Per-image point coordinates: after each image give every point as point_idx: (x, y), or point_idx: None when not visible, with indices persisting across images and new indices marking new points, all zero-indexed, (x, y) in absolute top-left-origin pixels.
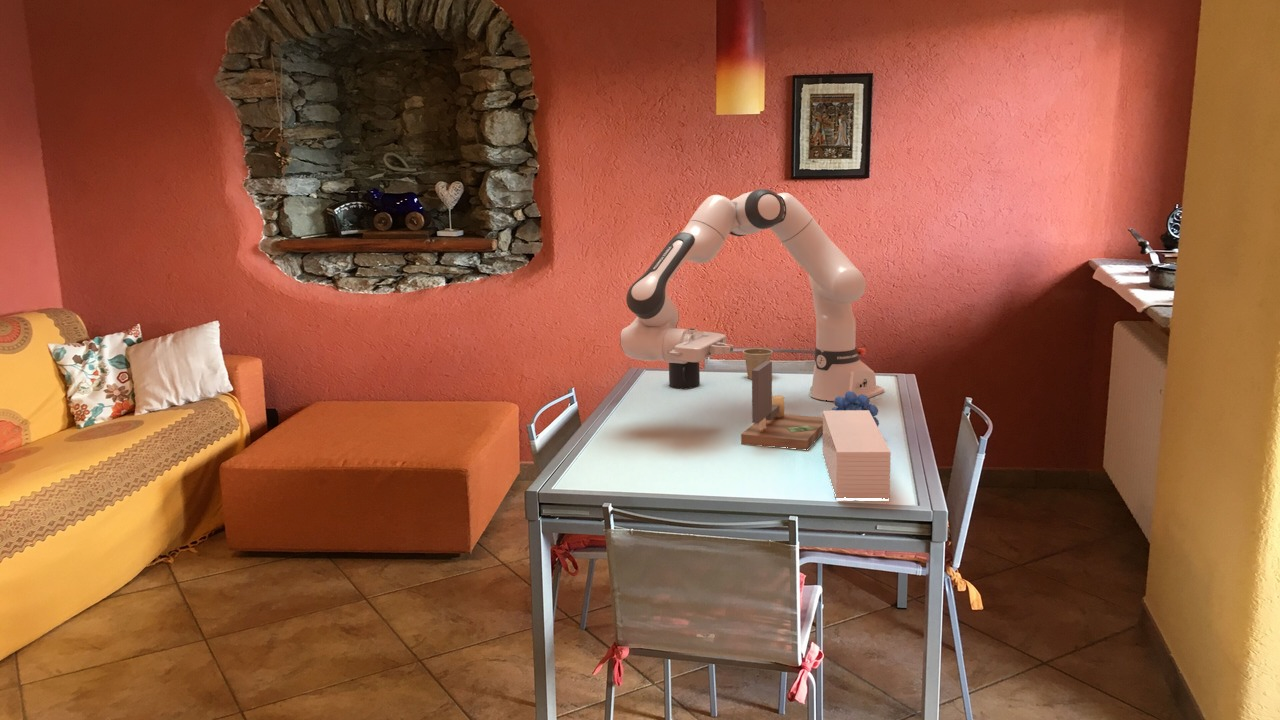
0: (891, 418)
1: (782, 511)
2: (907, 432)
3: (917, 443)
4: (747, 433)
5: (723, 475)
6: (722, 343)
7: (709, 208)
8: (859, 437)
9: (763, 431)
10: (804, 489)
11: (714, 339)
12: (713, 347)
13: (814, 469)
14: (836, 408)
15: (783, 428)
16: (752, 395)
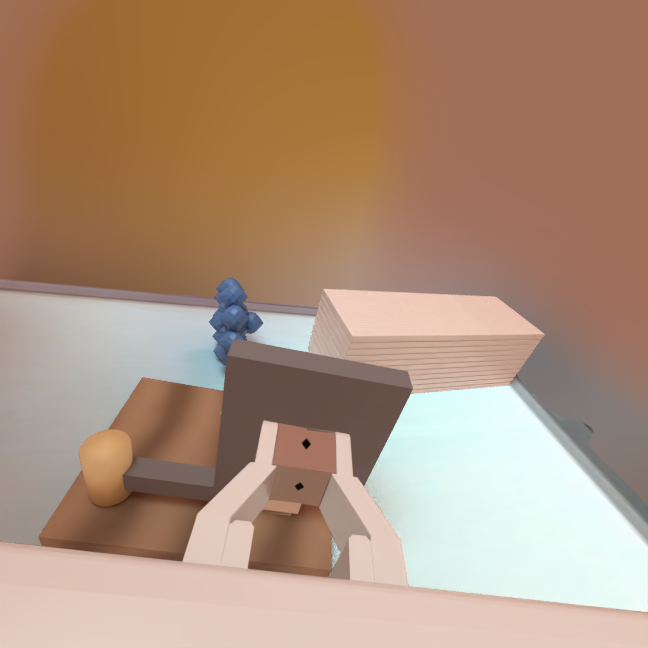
0: (86, 308)
1: (591, 436)
2: (185, 303)
3: (243, 302)
4: (317, 550)
5: (559, 563)
6: (237, 499)
7: None
8: (468, 311)
9: None
10: (502, 417)
11: (188, 593)
12: (398, 561)
13: (416, 409)
14: (238, 332)
15: None
16: (380, 451)
